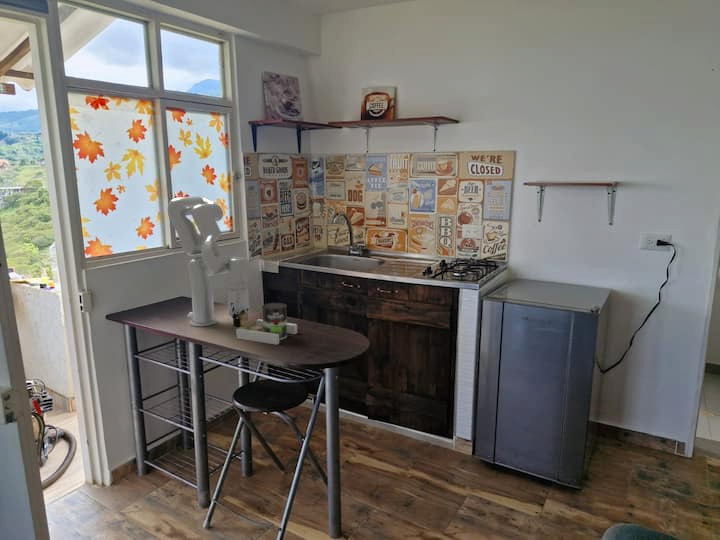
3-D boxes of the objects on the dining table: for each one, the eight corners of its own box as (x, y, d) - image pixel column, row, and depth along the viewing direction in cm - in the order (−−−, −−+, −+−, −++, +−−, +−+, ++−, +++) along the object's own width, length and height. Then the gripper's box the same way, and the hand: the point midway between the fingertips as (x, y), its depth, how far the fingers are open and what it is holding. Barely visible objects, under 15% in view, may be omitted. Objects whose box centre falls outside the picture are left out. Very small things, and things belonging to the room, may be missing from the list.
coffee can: (288, 339, 212) (288, 307, 209) (264, 341, 209) (263, 309, 207) (285, 332, 222) (285, 301, 219) (262, 334, 219) (261, 303, 216)
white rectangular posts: (236, 338, 213) (236, 329, 212) (259, 327, 229) (259, 319, 228) (276, 344, 206) (276, 335, 205) (297, 332, 221) (297, 324, 220)
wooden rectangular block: (235, 332, 221) (235, 314, 219) (241, 330, 225) (240, 312, 223) (258, 336, 217) (257, 317, 215) (263, 333, 220) (263, 315, 218)
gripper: (242, 281, 227) (244, 319, 231) (219, 288, 212) (221, 329, 216) (256, 282, 225) (257, 321, 228) (233, 290, 209) (235, 331, 213)
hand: (240, 325), depth 222 cm, fingers closed on wooden rectangular block, 4 cm apart
